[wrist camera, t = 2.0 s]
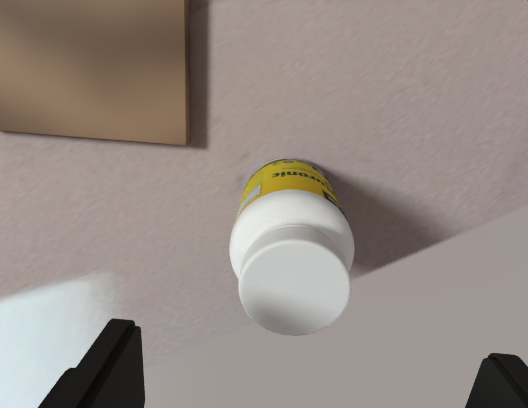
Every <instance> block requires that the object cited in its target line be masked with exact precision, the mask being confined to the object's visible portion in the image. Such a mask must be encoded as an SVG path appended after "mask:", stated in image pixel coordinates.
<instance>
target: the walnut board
mask: <svg viewBox="0 0 528 408" xmlns="http://www.w3.org/2000/svg"><path fill="white" fill-rule="evenodd" d="M0 131H12V132H24V133H37V134H50V135H62V136H75V137H88V138H100V139H113V140H126V141H138V142H151V143H164V144H176V145H187V144H188V143H189V142H190V49H189V0H0Z"/></svg>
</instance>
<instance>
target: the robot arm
mask: <svg viewBox="0 0 528 408" xmlns="http://www.w3.org/2000/svg"><path fill="white" fill-rule="evenodd" d="M144 404H145V390H144V374H143V356H142V340H141V328H140V327H139V326H135V322H134V321H133V320H124V319H111V320H110V321H109V322H108V323H107V325H106V326H105V328H104V329H103V330H102V332H101V333H100V335H99V336H98V338H97V339H96V340H95V342H94V343H93V345H92V346H91V347H90V349H89V350H88V352H87V353H86V354H85V356H84V357H83V359H82V360H81V361H80V363H79V364H78V366H77V367H76V368H70V369H68V370H66V371H65V372H64V374H63V375H62V376H61V377H60V378H59V380H58V381H57V383H56V384H55V385H54V387H53V388H52V389H51V391H50V392H49V393H48V395H47V396H46V397H45V399H44V400H43V401H42V403H41V404H40V405H39V407H38V408H144ZM465 408H528V367H527V366H526V364H525V363H524V362H523V361H522V360H521V359H520V358H519V357H518V356H516V355H509V354H499V353H491V354H490V355H489V356H488V358H485V359H483V361H482V363H481V366H480V368H479V371H478V374H477V376H476V379H475V382H474V385H473V387H472V390H471V393H470V396H469V398H468V401H467V404H466V407H465Z"/></svg>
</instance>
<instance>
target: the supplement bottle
mask: <svg viewBox="0 0 528 408" xmlns="http://www.w3.org/2000/svg"><path fill="white" fill-rule="evenodd" d="M230 259H231V264H232V267H233V270H234V272H235V274H236V276H237V278H238V279H239V295H240V299H241V302H242V305H243V307H244V309H245V311H246V312H247V313H248V315H249V316H250V317H251V318H252V319H253V320H254V321H255V322H256V323H258V324H259V325H260V326H262V327H264V328H265V329H267V330H270V331H272V332H275V333H279V334H282V335H292V336H299V335H307V334H311V333H315V332H318V331H320V330H322V329H324V328H326V327H328V326H329V325H331V324H332V323H334V322H335V321H336V320H337V319H338V318H339V317H340V316H341V314H342V313H343V312H344V310H345V309H346V307H347V305H348V302H349V299H350V294H351V279H350V275H349V271H350V269H351V267H352V263H353V259H354V239H353V235H352V232H351V229H350V226H349V223H348V221H347V219H346V216H345V215H344V213H343V211H342V208H341V206H340V204H339V202H338V200H337V198H336V195H335V193H334V191H333V189H332V187H331V184H330V183H329V181H328V179H327V178H326V176H325V175H324V174H323V173H322V172H321V170H319V169H318V168H317V167H316V166H315V165H313V164H311V163H309V162H307V161H305V160H302V159H298V158H279V159H275V160H272V161H270V162H268V163H266V164H264V165H263V166H261V167H260V168H259V169H258V170H257V171H256V172H255V173H254V174H253V175H252V176H251V178H250V179H249V181H248V183H247V185H246V188H245V190H244V193H243V197H242V200H241V203H240V207H239V210H238V214H237V217H236V220H235V224H234V227H233V230H232V234H231V240H230Z"/></svg>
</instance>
